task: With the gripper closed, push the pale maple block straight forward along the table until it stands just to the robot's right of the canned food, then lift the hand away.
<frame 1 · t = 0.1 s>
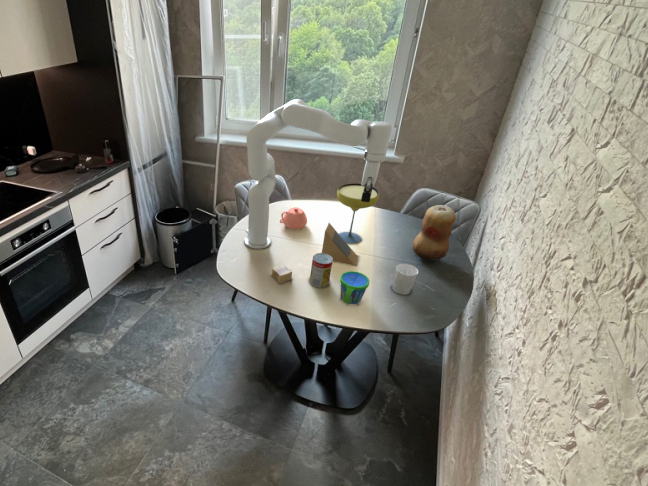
hand: (366, 196, 163), 31 cm above the table, tool pointing down, fingers open, 9 cm apart
butternut squash: (426, 258, 179), on the table
white cup: (401, 290, 161), on the table
canned food: (319, 282, 168), on the table
cocktail glass: (349, 238, 196), on the table
sugar bowl: (292, 226, 209), on the table
block: (281, 277, 172), on the table
sandwich container: (339, 258, 183), on the table
snack cup: (350, 299, 158), on the table
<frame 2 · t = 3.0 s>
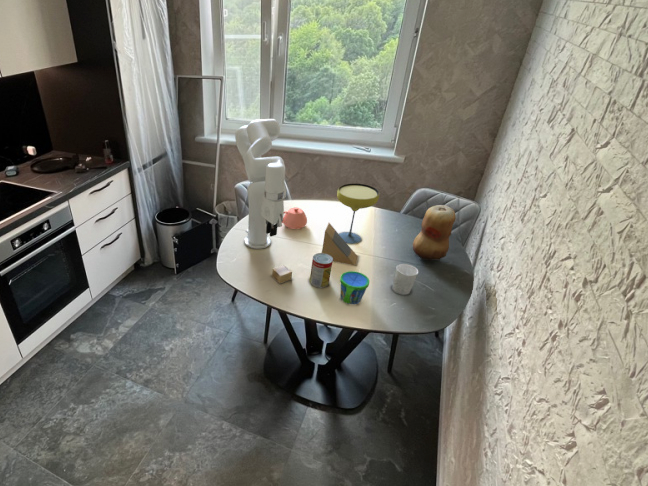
hand: (271, 233, 169), 17 cm above the table, tool pointing down, fingers closed
nothing on the table moved.
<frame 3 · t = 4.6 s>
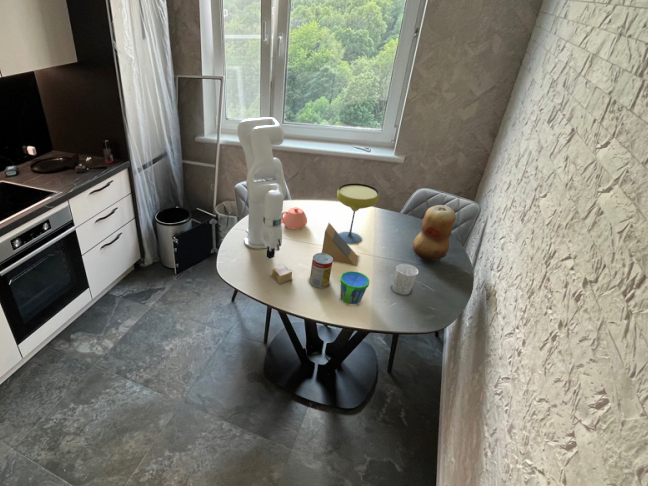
hand: (270, 257, 175), 6 cm above the table, tool pointing down, fingers closed
nothing on the table moved.
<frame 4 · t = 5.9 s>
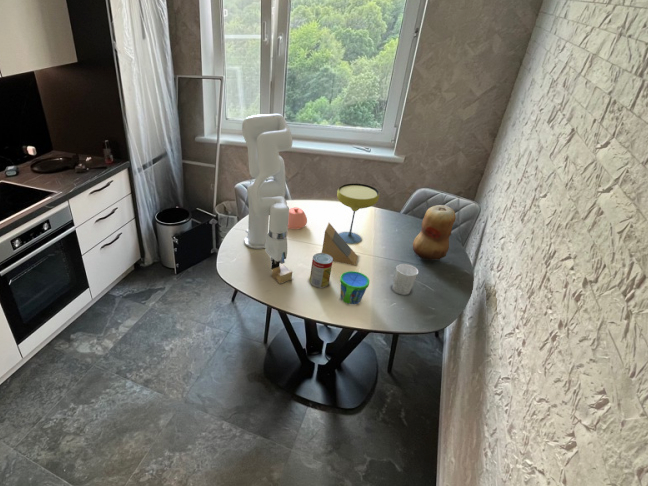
hand: (275, 269, 175), 2 cm above the table, tool pointing down, fingers closed
block: (281, 277, 172), on the table, touching gripper
everything else where it was.
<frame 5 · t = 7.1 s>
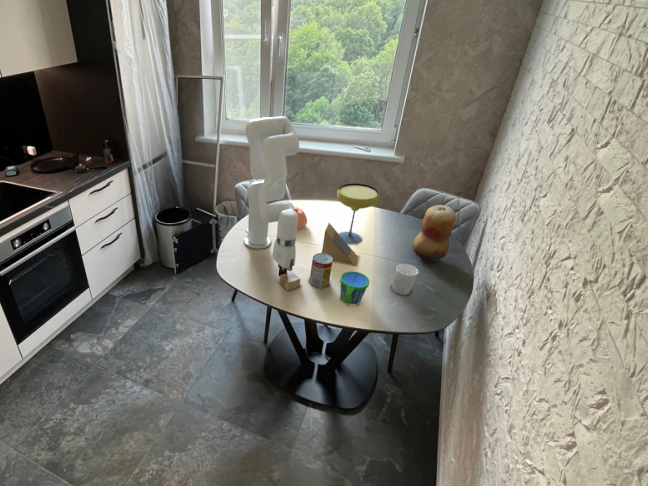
hand: (282, 275, 171), 1 cm above the table, tool pointing down, fingers closed
block: (289, 284, 168), on the table, touching gripper
everything else where it was.
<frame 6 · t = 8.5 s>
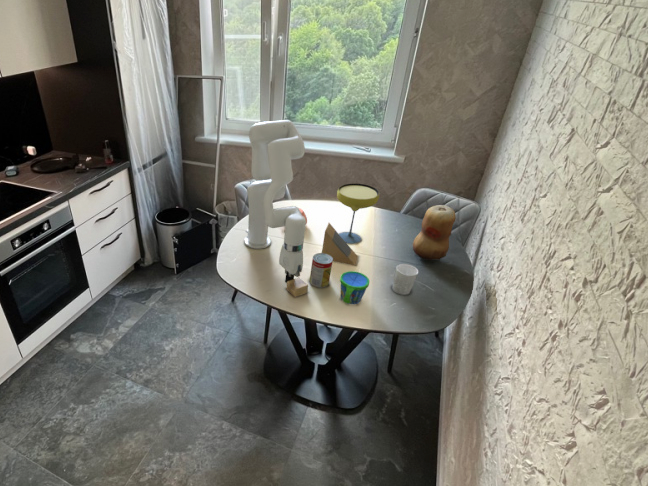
hand: (289, 281, 167), 1 cm above the table, tool pointing down, fingers closed
block: (296, 290, 164), on the table, touching gripper
everything else where it was.
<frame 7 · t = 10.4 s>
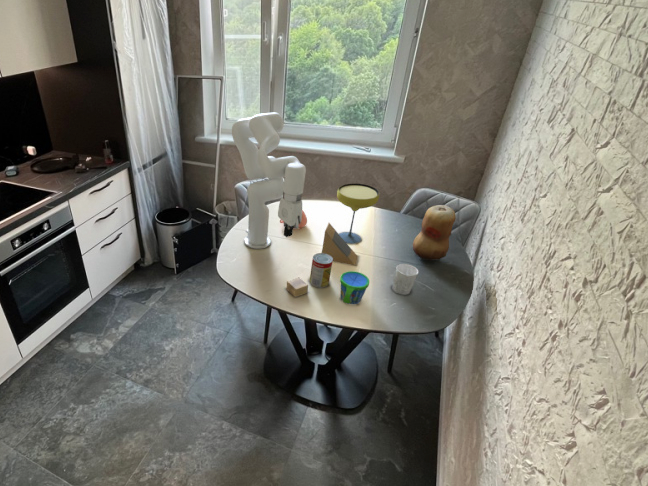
hand: (287, 235, 165), 19 cm above the table, tool pointing down, fingers closed
block: (296, 290, 164), on the table
everything else where it was.
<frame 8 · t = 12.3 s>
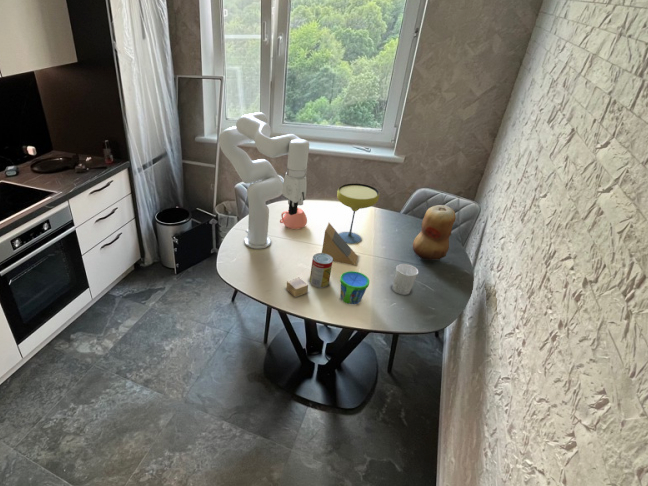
hand: (292, 213, 167), 25 cm above the table, tool pointing down, fingers closed
nothing on the table moved.
at the end: block inside the target area on the table beside the canned food (0.4 cm from its centre), on the table; canned food moved 0.2 cm from its start; block tilted 0° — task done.
